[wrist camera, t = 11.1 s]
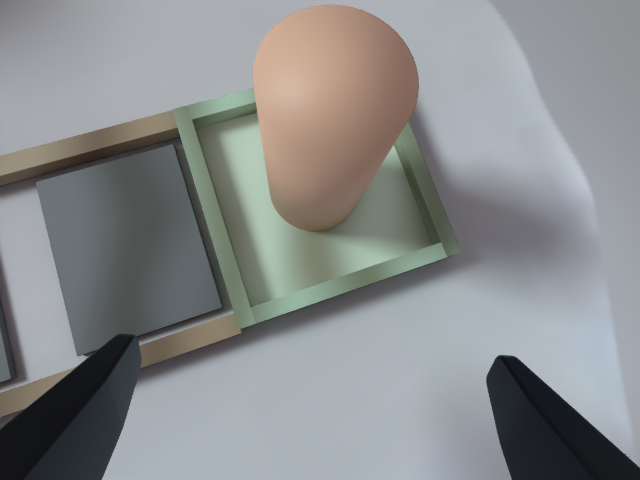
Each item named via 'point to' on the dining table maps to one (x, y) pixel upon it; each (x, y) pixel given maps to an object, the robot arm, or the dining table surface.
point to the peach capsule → (329, 109)
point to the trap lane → (224, 226)
